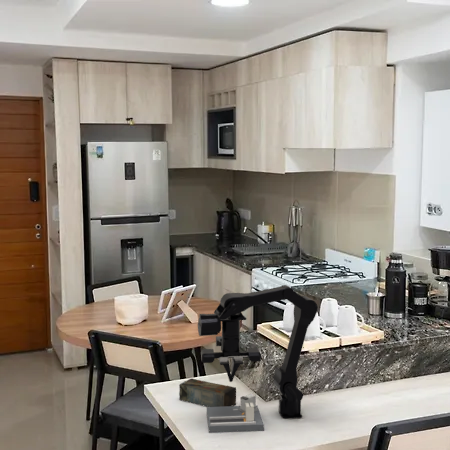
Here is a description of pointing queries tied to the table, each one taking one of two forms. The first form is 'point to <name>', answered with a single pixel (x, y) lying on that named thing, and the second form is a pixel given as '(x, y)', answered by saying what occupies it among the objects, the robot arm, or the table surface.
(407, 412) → the table surface
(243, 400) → the grey rectangular block
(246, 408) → the fader tab
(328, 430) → the table surface
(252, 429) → the console board
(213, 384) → the weathered grey box
